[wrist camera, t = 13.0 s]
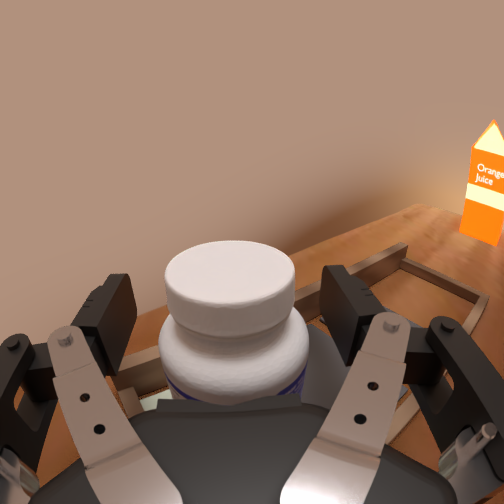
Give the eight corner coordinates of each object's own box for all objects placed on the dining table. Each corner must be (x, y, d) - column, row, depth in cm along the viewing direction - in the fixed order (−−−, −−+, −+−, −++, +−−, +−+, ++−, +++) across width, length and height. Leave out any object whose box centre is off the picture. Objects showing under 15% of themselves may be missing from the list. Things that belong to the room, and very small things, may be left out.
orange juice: (501, 235, 40) (516, 130, 32) (496, 246, 35) (514, 124, 27) (467, 222, 46) (479, 121, 37) (458, 231, 41) (472, 114, 32)
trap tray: (396, 262, 31) (400, 242, 30) (486, 304, 22) (494, 282, 21) (118, 390, 15) (105, 362, 14) (220, 564, 6) (213, 562, 5)
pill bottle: (268, 383, 16) (274, 224, 12) (311, 454, 12) (357, 288, 8) (178, 405, 15) (139, 243, 10) (202, 488, 10) (145, 336, 6)
